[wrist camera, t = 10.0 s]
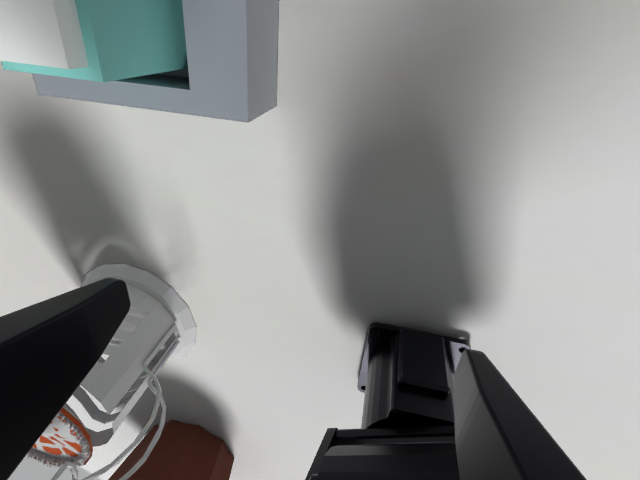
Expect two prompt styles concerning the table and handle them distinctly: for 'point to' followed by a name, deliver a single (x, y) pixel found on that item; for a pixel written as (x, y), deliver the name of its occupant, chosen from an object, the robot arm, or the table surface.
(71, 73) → the teal rectangular block
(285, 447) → the table surface
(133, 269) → the french press
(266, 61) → the port block
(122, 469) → the muffin
